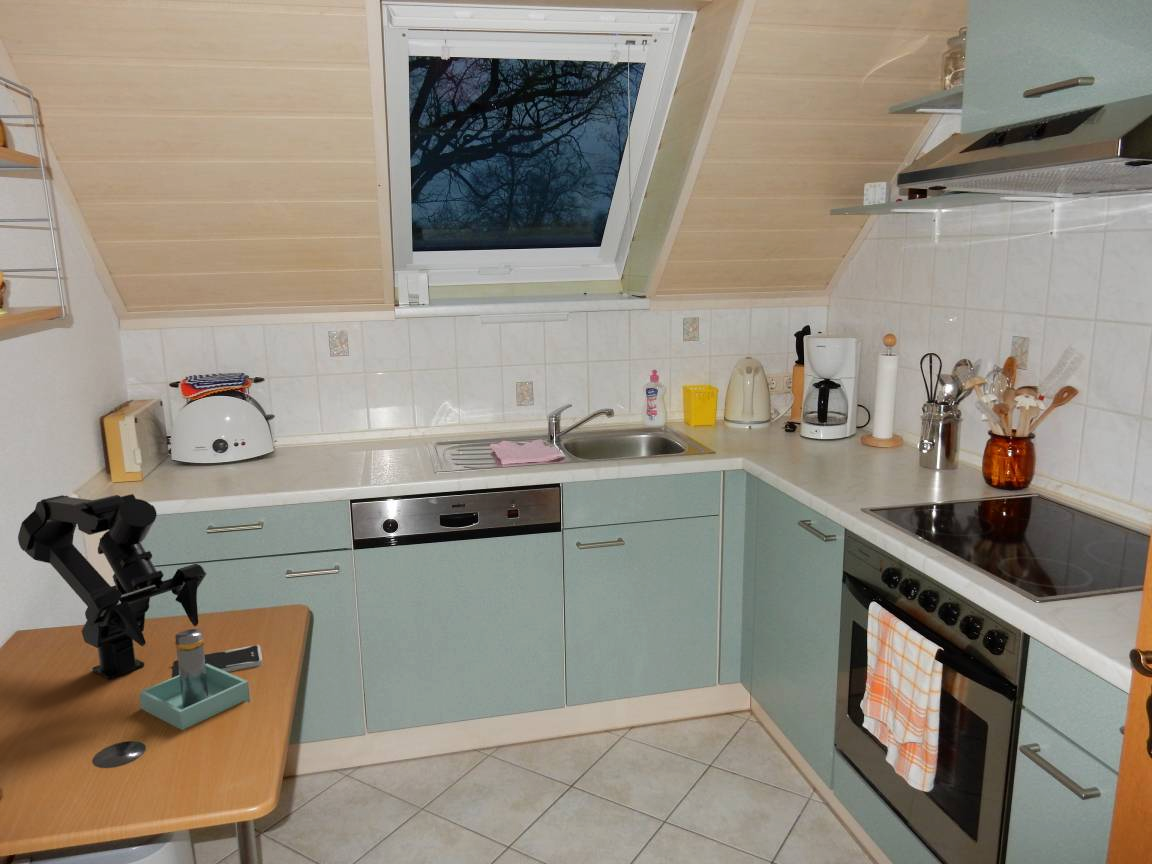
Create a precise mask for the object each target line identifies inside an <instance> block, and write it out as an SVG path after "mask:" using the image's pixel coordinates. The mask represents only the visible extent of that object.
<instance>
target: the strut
mask: <svg viewBox="0 0 1152 864" xmlns="http://www.w3.org/2000/svg"><path fill="white" fill-rule="evenodd" d="M174 637H175V649H176V655H177V660H178V666H179V676H180V686H181V695H182V705H183V707H184V708H186V707H188V706H191V705H193V704H195V703H197V702H199V701H202V700H204V699H206V698H208V687H207V676H206V666H205V656H204V655H205V646H204V644H205V641H204V640H205V639H204V636H203V631H202V629H199V628H195V629H194V628H192V629H191V628H190V629H186V630H182V631H180V632H178V633H176V634H175V636H174Z"/></svg>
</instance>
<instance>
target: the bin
mask: <svg viewBox="0 0 1152 864" xmlns="http://www.w3.org/2000/svg"><path fill="white" fill-rule="evenodd" d="M205 666H206V676H207V687H208V698H206V699H204V700H202V701H199V702H197V703H195V704H193V705H191V706H188V707H186V708H184V707H183V705H182V695H181V686H180V676H179V675H178V676H176V677H171V678H169V679H167V680H164V681H162V682H159V683H157V684H154V685H153V686H149V687H148V688H145V689H143V690H140V691H138V692H139V693H138V694H139V701H140V706H141V707H140V708H141V710H143V711H144V712H147V713H149V714H150V715H152V716H154V717H156V718H158V719H160V720H161V721H164V722H166V723H168V724H170V725H171V726H173V727H175V728H177V729H180V731H184V730H186V729H188V728H190V727H192V726H195V725H197V724H199V723H200V722H203V721H205V720H206V719H208V718H211V717H213V716H215V715H217V714H220V713H222V712H224V711H226V710H228V709H230V708H233V707H234V706H237V705H238V704H240V703H243V702H246V703H250V702H251V697H250V696H251V695H250V694H251V693H250V687H249V680H247V679H243V678H241V677H240V676H237V675H234V674H232V673H230V672H225V671H223V670H221V669H218V668H216V667H214V666H212V665H209V664H205Z"/></svg>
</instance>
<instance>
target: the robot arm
mask: <svg viewBox="0 0 1152 864" xmlns="http://www.w3.org/2000/svg"><path fill="white" fill-rule="evenodd" d="M157 514H158V513H157V510H156V508H155V506H154V505H153V504H151V503H150V502H148V501H146V500H143V499H140V498H136V496H135V495H134V494H132V493H131V494H127V495H123V496H121V495H119V494H114V495H111V496H106V497H102V498H97V499H87V498H78V497H70V496H69V495H62V494H61V495H57V496H52V497H48V498H43V499H41V500H40V501H38V502H37V503H36V505H35V509H34V510H33V511H31V513H30V514H29V515H28V516H27V517H26V518H24V520H23V521H22V522H21V525H20V528H19V531H18V535H17V540H18V545H19V548H20V549H21V550H22V551H23V552H25V553H26V554H27V555H28V556H29V557H30V558H31V559H33V560H34V561H37V562H42V563H47V564H50V565H51V566H52V567H53V569H55V571H56V572H57V573H58V574H59V575H60V577H62V579H63V580H64V581H65V582H66V583H67V584H68V585H69V587H70V588H71V590H73V592H74V593H75V594H76V595H77V596H78V597H79V598H80V599H81V601H82V602H83V604H85V605H86V610H85V612H84V613H85V614H84V615H85V619H86V622H85V623H84V625H83V626H82V629H81V634H82V638H83V641H84V643H86V644H87V645H89V646H92V647H94V648H97V652H98V660H99V664H98V665H96V666H93V667H92V669H91V670H92V672H94V673H96V674H97V675H100V676H102V677H104V678H106V679H109V680H111V679H115V678H116V677H119V676H121V675H125V674H127V673H129V672H132V671H135V670H137V669H140V668H143V667H144V666H145V662H144V661H142V660H140V659H137V658H136V653H135V645H134V642H135V643H137V644H138V645H139V646H141V647H144V646H145V645H146V640H145V636H144V633H143V632H144V629H145V621H146V613H147V612H148V610H149V609H150V600H151V598H153V597H155V596H159V595H161V594H164V593H165V594H166V593H167V592H172V594H173V595H174V596H176V598H175V599H174V600H175V601H176V602H177V603H180V605H181V606H182V609H183V610H184V612H185V614H186V616H187V618H188V620H189V621H190V623H191V624H192V626H194V627H197V626H198V624H199V612H198V610H199V609H198V597H197V596H198V588H199V587H200V584H201V583H202V582H203V580H204V579H205V577H206V575H207V572H206V570H205V569H204V567H203V566H202V565H200V564H198V563H194V564H193V563H192V564H191V565H186V566H183V567H180V568H177V570H176V571H175V573H174V575H173V576H172V578H169V579H166V580H163V577H164V573H163V571H162V570H161V569H160V570H157V569H156V567H155V566H154V563H153V562H152V560H151V559H152V557H153V554H152V551H150V550H149V551H146V550H145V548H144V547H143V545H142V542H144V541H145V539H146V538H147V536H148V533H149V531H150V530H151V528H152V526H153V525H154V523H155V521H156V519H157ZM76 527H77V529H78V531H80V532H82V533H84V534H86V535H89V536H90V535H95V534H99V533H102V532H103V535H102V536H101V537H100V538H99V543H98V547H97V554H98V555H104V557H105V559H106V561H107V563H108V564H109V565H110V567H111V570H112V571H113V573H114V574H113V575H112V579H113V582H114V584H115V585H113V586H111V585H110V584H109V583H108V582H107V580H105V577H103V576H102V575H101V574H100V573H99V571H98V570H97V569H96V568H95V567H94V566H93V565H92V564H91V563H90V562H89V561H88V559H87V558H86V557H85V556H84V555H83V554H82V553H81V551H79V549H78V548H77V547H76V546H75V545H74V534H75V531H76ZM104 532H105V533H104Z"/></svg>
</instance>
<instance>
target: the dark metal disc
mask: <svg viewBox="0 0 1152 864" xmlns="http://www.w3.org/2000/svg"><path fill="white" fill-rule="evenodd" d="M146 749H147V748H146V745H145V744H144V743H143V742H141V741H134V740H131V741H130V740H128V741H121V742H118V743H114V744H112V745H111V744H110V745H109V746H107V747H104V748H102V749H101V750H100V751H98V752H97V753H96V754H95V755H94V757H93V758H92V763H93V765H94V766H95V767H97V768H102V769H110V768H111V769H113V768H117V767H121V766H124V765H127V764H130V763H132V762H135V761H136V760H137V759H139V758H141V757H142V756H143V754H144V753H145V752H146Z"/></svg>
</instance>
